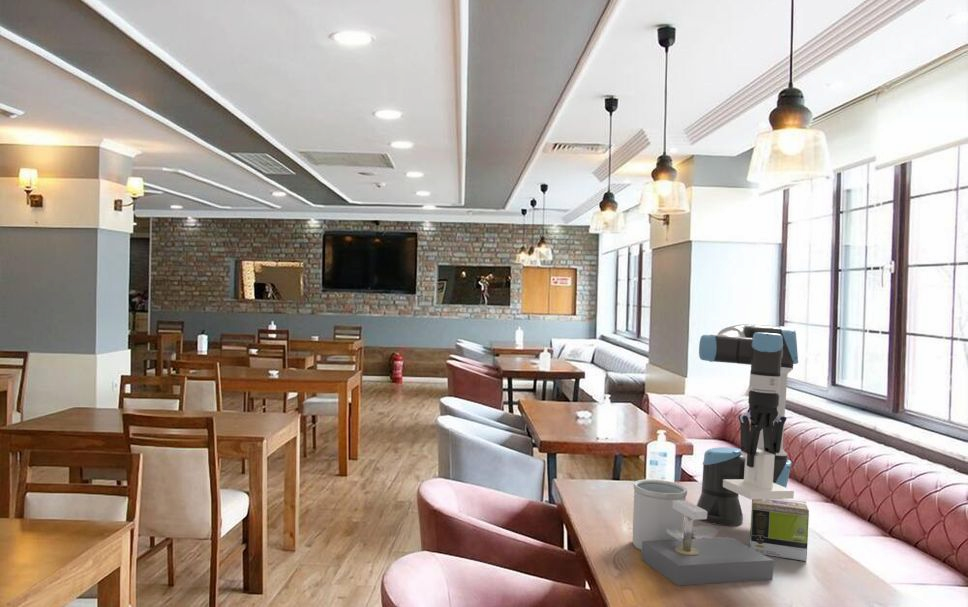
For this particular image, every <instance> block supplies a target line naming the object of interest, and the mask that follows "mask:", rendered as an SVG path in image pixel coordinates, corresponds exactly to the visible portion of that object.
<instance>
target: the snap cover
mask: <svg viewBox="0 0 968 607" xmlns="http://www.w3.org/2000/svg"><path fill="white" fill-rule="evenodd" d="M744 455H745V470H744V479H723V487H724V488H726V489H729V490H731V491H733V492H735V493H737V494H739V495H740V496H742V497H744V498H746V499H749V500H752V499H786V500H792V499H794V496H795V495H794V494H795V491H794V490H793V489H790V488H788V487H786V488H785V487H783V486H780V485H778V484H775V483H773V473H774V458H775V455H774V454H772V453H769V452H766V451H763V450H760V449H757V450H756V455H757V456H758V466H757V481H754V480H751V479H749V478H748V469H749V467H748V466H747V453H745V454H744Z"/></svg>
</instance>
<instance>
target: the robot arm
mask: <svg viewBox="0 0 968 607" xmlns="http://www.w3.org/2000/svg"><path fill="white" fill-rule="evenodd" d="M796 332H797V331H796V330H795V328H793V327H787V326H781V325H761V324H750V323H747V324H746V323H745V324H744V323H743V324H735V325H731V326H728V327H725V328H722V329H721V330H719V332H717V335H716V334H715V335H714V334H703V335H700V340H699V344H698V346H699V347H698V357H699V359H700V360H701V361H706V362H710V363H713V362H714V363H727V364H739V365H749V366H750V371H749V372H750V374H749V386H748V388H749V389H750V390H749V391H748V401H747V402H748V409H747V412H746V413H744V414H741V413H740V414H739V415H738V416H737V418H738V420H739V424H740V448H737V447H730V446H729V447H727V446H725V447H714V448H713V447H712V448H708V449H707V450H705V451H704V455H703V462H702V466H703V467H702V480H701V493H700V496H699V498H698V501H697V503H696V506H698V507H700V508H702V509H704V510H706V511H707V519H698V520H700V521H703V522H704V523H708V524H711V525H712V524H713V525H717V526H718V525H719V526H729V527H731V526H733V527H734V526H739V525H742V524H743V523H744V522H743V520H744V515H743V511H742V508H741V502H740V500H739V495H740V494H737V493H735V492H733V491H731V490H729V489H726V488H724V487H723V479H744V470H745V455H746V453H747V466H748V467H749V469H748V478H749V479H751V480H754V481H757V466H758V456H757V455H756V450H757V449H760V450H763V451H766V452H769V453H772V454H774V455H775V458H774V473H773V483H775V484H778V485H780V486H783V487H785V488H788V487H787V486H788V482H789V477H790V471H791V467H792V463H793V462H792V461H791V460H790V459H788V454H787V452H786V451H785V450H784V446H783V445H784V430H785V423H786V421H787V417H786V416H785V415H786V403H787V402H786V401H787V388H788V387H787V386H788V375H789V373H791V372H792V371H793V369H794V365H797V364H799V356H798V355H799V354H798V343H797V339H798V338H797V333H796ZM744 453H745V454H744Z"/></svg>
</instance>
